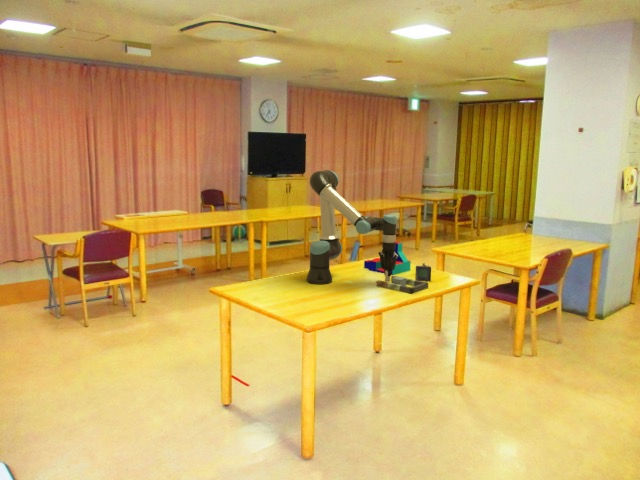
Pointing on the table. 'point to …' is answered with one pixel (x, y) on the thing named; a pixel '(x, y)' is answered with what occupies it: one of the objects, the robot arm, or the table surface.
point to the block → (399, 280)
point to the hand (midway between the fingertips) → (387, 281)
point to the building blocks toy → (401, 262)
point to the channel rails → (392, 285)
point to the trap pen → (417, 287)
